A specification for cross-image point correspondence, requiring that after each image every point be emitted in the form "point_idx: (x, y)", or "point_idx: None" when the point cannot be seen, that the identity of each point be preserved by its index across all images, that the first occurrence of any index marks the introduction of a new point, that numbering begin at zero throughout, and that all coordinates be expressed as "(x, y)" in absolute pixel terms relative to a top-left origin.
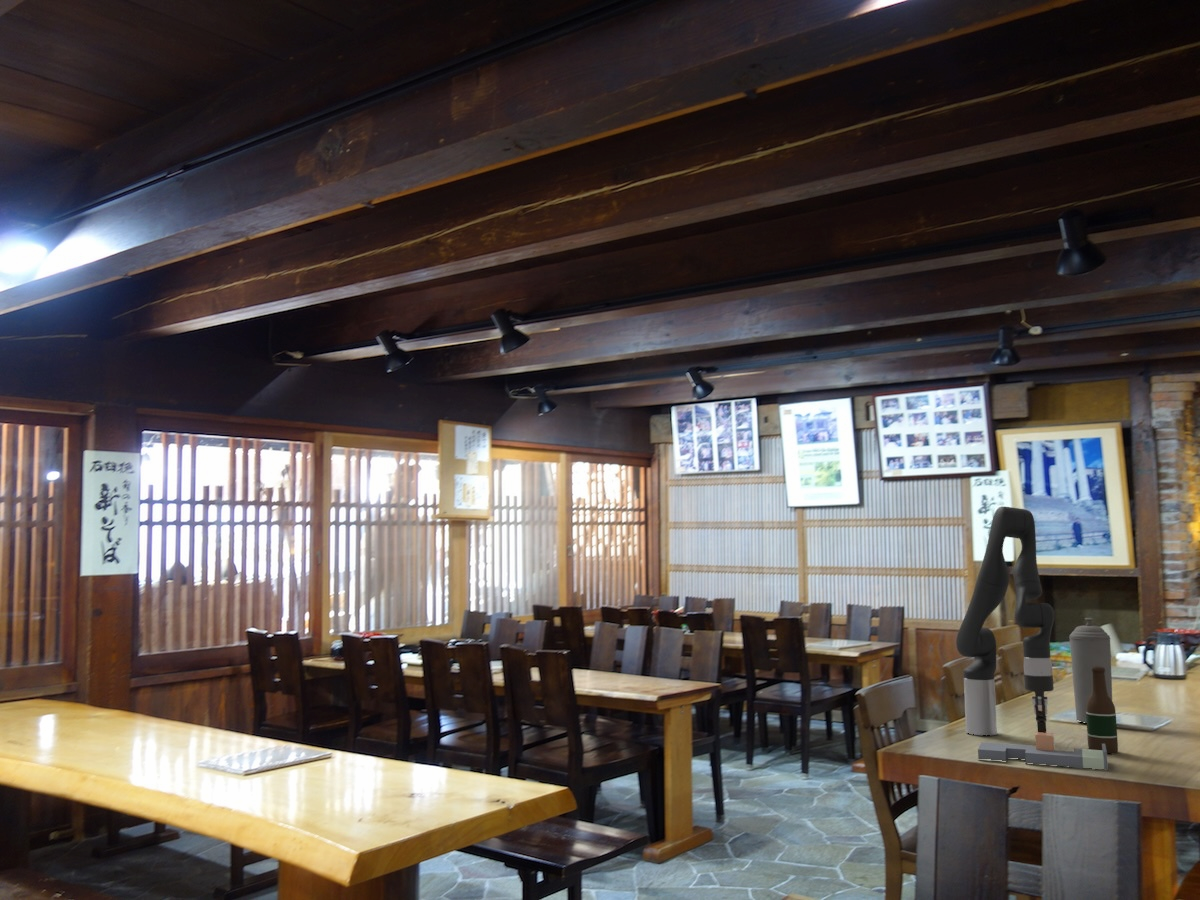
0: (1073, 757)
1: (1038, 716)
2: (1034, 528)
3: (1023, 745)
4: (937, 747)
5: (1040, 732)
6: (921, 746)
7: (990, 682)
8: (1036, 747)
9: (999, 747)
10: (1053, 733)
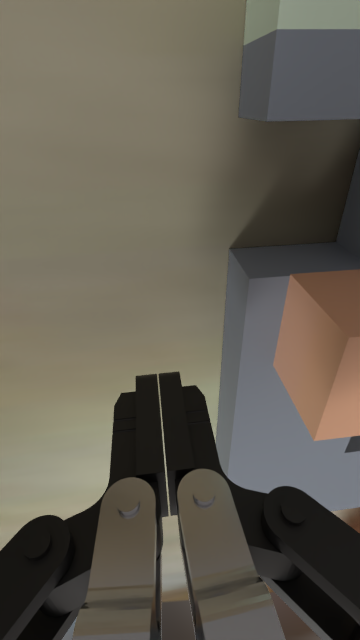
0: None
1: (295, 579)
2: None
3: (253, 417)
4: (174, 560)
5: (325, 417)
6: (178, 578)
7: None
8: None
9: (334, 470)
10: (351, 336)
